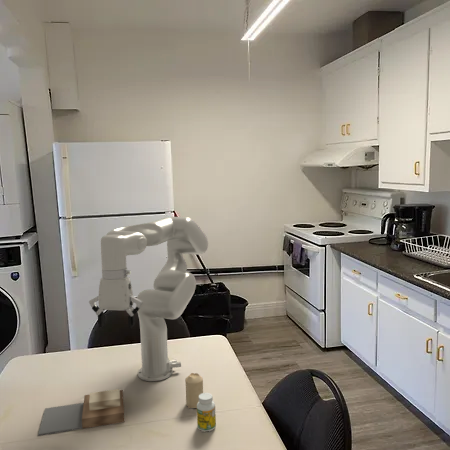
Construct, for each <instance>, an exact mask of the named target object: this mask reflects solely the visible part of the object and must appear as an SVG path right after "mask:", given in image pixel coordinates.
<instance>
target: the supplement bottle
mask: <svg viewBox="0 0 450 450" xmlns="http://www.w3.org/2000/svg"><path fill="white" fill-rule="evenodd" d="M216 417H217V416H216V403H215V401H214V399H213V394H212V393H210V392H203V393H202V394H200V395H199V402H198V403H197V409H196V420H197V422H196V423H197V429H198V430H199V429H200V430H202V431H201V432H203V431H209V432H211V431H210V430H212V431H213V429H214V428H216V427H217V419H216ZM200 430H199V431H200ZM214 430H215V429H214Z"/></svg>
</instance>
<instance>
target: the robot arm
mask: <svg viewBox="0 0 450 450" xmlns="http://www.w3.org/2000/svg"><path fill="white" fill-rule="evenodd" d="M163 243H166V249H167V251H166V252H167V261H166V262H165V264H164V266H163V267H162V269H161V270H160V271H159V272H158V274H157V275H156V277H155V279H154V280H153V286H152V287H153V289H152V288H151V289H144V290H141V292H138V295H137V296H136V297H135V296H134V293H133V287H132V281H131V279H130V277H129V276H131V275H132V274H131V273H132V271H131V270H128V267H127V256H136V255H140V254H141V253H144V251H145V250H146V248H147V247H154V246H158V245H161V244H163ZM208 247H209V241H208V237H207V236H206V234H205V232H204V231H203V230H202V228H201V227H200V226H199V224H198V222H196V221H195V220H194V219H193V218H190V217H189V216H188V217H187V216H168V217H166V216H165V217H163V218H161V219H156V220H153V221H150V222H146V223H145V222H144V223H140V224H135V225H128V226H123V227H118V228H116V229H111V230H110V231H108V232H107V234H106V235H103V236H102V237H101V238H100V255H101V278H100V279H99V280H100V281H99V285H98V296H96V297H93V298H91V299H90V300H89V301H88V303H89V306H90V307H91V309H92V311H93V312H94V313H95V315H96V316H97V324H98V327H99V328H103V327H104V326H105V325H106V314H105V312H104V311H105V310H106V311H126V313H127V314H128V315H129V316H127V321H128V324H127V325H128V329H133V327H134V326H135V325H136V313H137V315H138V319H139V329H140V332H139V333H140V334H139V335H140V351H141V352H140V355H141V367H140V368H139V369H138V371H137V375H138V379H140V380H142V381H145V382H146V381H147V382H159V381H163V380H166V379H167V378H170V377H171V376H172V374H173V371H174V370H173V369H175V368H182V363H181V361H177V359H174V360H170V359H169V355H168V352H169V351H168V350H169V349H168V328H167V324H166V320H165V319H167V320H177V319H178V318H180V316H181V315H182V314H183V313H184V311H185V309H186V308H187V305H188V304H189V303H190V301H191V299H192V297H193V295H194V294H195V290H196V289H197V280H196V278H195V275H194V274H193V273H191V272H189V271H187V269H188V265H187V262H186V259H185V258H184V256H183V254H185V255H195V256H196V255H199V256H200V255H203V254H205V253H206V251H208ZM96 302H98V305H97V303H96ZM134 303H135V307H133V306H134Z"/></svg>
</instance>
